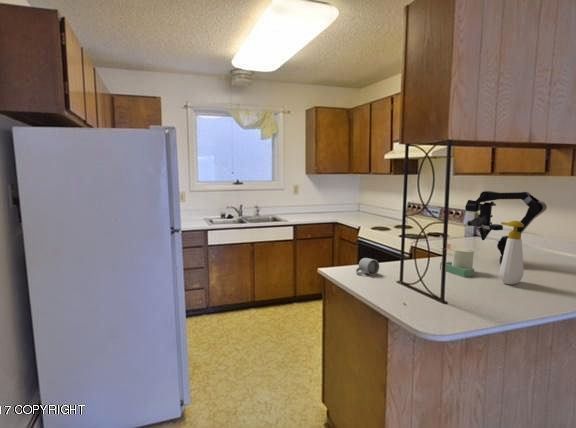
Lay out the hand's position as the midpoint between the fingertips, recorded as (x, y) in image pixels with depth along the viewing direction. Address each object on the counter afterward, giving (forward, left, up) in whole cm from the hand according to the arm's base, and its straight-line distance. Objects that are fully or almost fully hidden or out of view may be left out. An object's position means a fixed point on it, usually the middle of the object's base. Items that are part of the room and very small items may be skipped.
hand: (483, 240), depth 202 cm
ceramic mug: (+54, +56, -12) cm, 79 cm away
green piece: (+14, +33, -12) cm, 38 cm away
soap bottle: (-8, +41, -12) cm, 43 cm away
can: (+11, +30, -12) cm, 34 cm away
